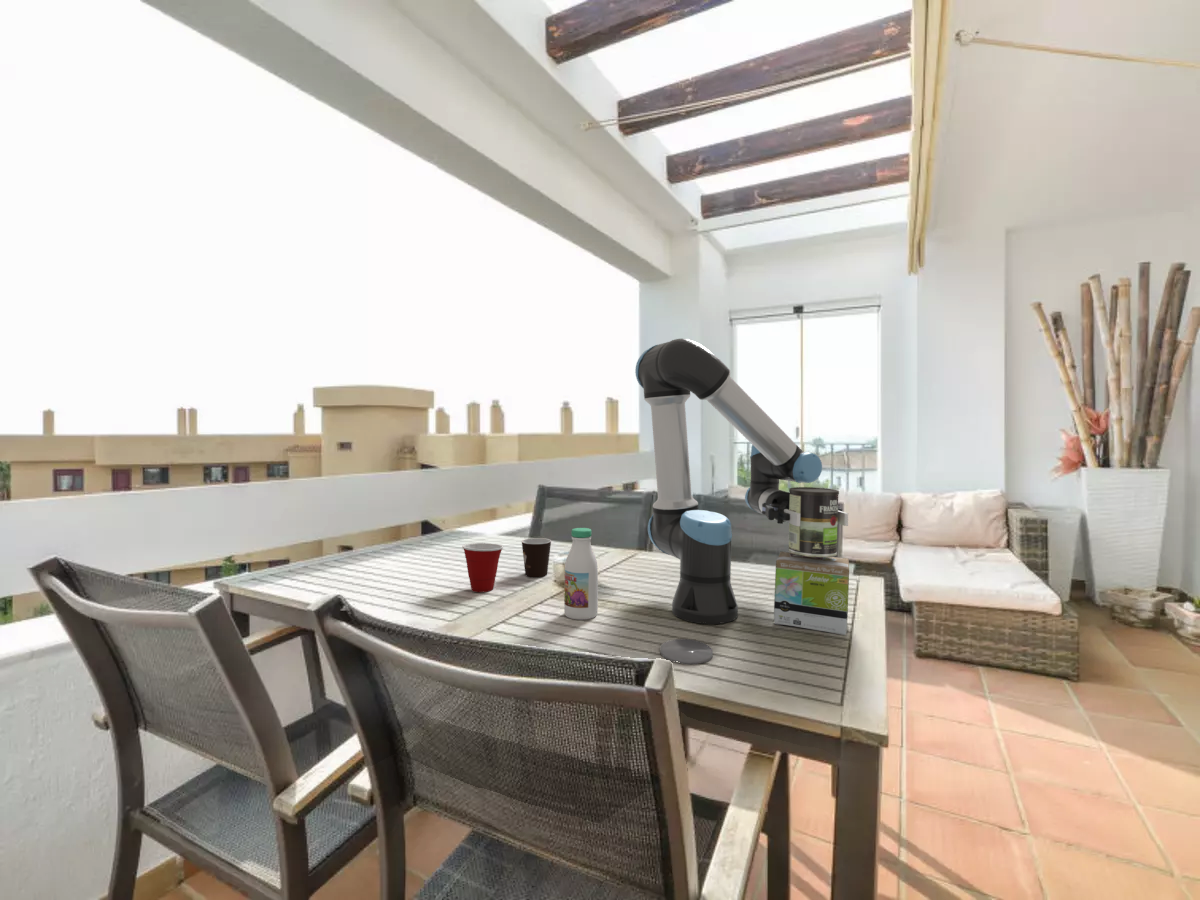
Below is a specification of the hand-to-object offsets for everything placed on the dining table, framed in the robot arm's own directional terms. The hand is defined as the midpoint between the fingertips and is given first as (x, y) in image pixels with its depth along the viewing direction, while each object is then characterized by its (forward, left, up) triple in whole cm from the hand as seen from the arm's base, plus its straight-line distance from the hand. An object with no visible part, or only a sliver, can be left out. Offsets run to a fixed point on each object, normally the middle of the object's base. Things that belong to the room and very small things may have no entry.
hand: (822, 519), depth 117 cm
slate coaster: (-32, -10, -24) cm, 41 cm away
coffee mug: (-62, +50, -24) cm, 83 cm away
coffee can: (0, +4, -8) cm, 9 cm away
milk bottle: (-51, +13, -24) cm, 58 cm away
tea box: (0, +4, -24) cm, 25 cm away
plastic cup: (-76, +35, -24) cm, 87 cm away
